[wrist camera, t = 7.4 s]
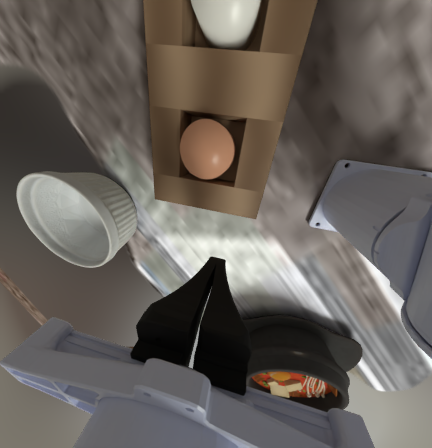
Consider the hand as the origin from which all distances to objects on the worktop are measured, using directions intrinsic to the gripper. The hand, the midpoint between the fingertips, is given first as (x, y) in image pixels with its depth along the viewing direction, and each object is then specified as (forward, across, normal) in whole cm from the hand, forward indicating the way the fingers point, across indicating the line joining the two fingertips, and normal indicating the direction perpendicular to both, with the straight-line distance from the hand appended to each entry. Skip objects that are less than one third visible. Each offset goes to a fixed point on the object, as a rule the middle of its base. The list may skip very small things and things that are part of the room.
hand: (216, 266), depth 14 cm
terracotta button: (+8, +3, -9) cm, 12 cm away
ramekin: (+10, +20, +2) cm, 22 cm away
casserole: (+10, -15, +23) cm, 29 cm away
